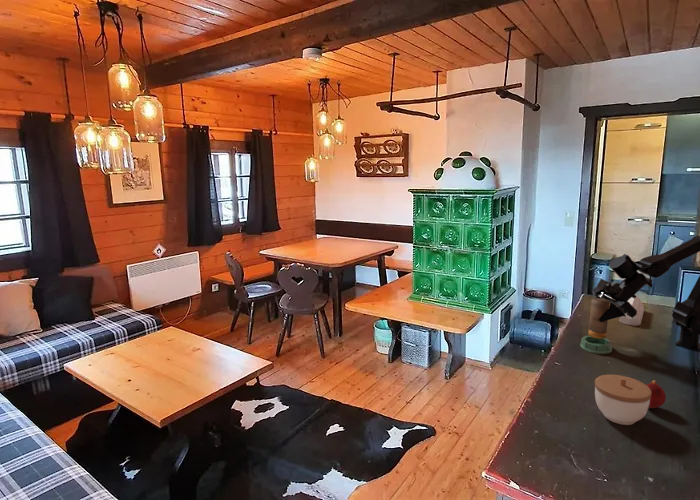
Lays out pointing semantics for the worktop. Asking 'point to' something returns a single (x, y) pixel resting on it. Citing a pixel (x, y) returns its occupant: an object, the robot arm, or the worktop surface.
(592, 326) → the sleeve
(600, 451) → the worktop surface
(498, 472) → the worktop surface
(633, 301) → the pale pink faceted bar
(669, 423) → the worktop surface
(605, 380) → the lidded bowl
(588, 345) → the socket
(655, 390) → the onion
